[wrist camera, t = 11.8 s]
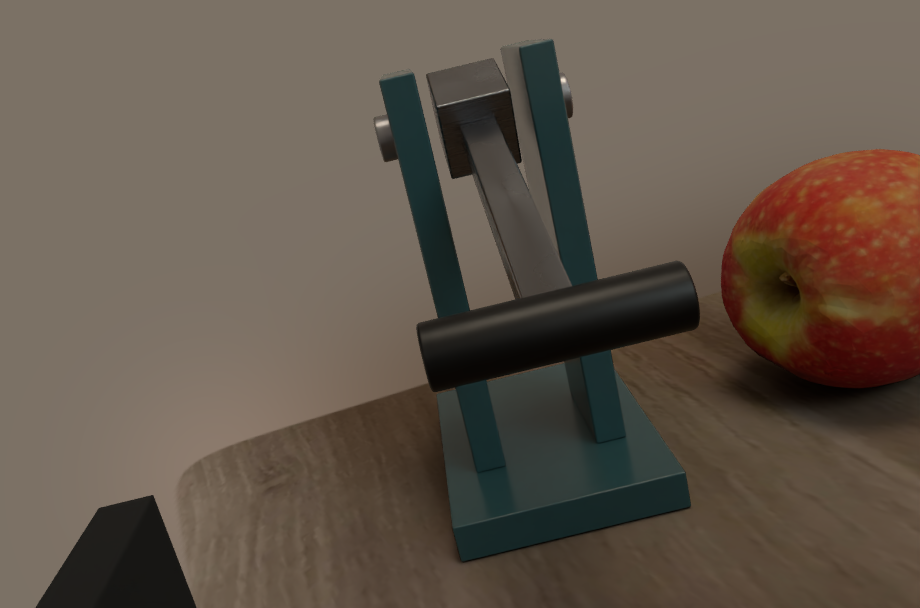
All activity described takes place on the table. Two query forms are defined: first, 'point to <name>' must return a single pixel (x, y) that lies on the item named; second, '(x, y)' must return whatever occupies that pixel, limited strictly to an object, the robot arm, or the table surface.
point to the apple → (832, 270)
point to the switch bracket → (540, 391)
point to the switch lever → (531, 258)
